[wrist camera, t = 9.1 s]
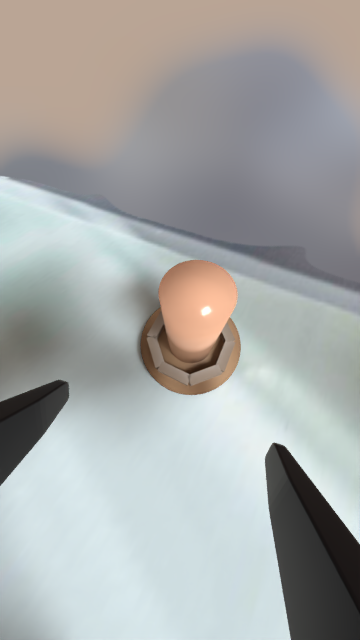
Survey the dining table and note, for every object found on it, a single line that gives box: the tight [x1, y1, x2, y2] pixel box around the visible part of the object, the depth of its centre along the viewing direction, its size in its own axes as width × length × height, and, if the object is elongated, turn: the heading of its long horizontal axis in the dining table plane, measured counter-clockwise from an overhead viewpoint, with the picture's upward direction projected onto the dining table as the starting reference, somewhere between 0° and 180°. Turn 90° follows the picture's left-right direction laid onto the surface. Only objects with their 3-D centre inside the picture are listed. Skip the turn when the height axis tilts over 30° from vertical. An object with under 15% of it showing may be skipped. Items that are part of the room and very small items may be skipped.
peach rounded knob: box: [159, 260, 238, 363], centre depth 17 cm, size 5×5×10 cm
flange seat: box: [141, 307, 241, 395], centre depth 22 cm, size 11×11×2 cm
